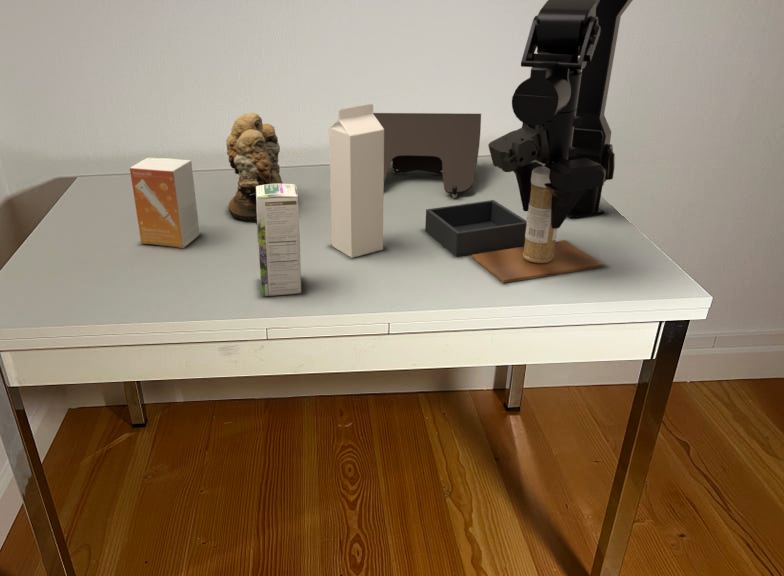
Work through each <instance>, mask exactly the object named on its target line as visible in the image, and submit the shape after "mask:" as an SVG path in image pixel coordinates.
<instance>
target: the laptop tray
mask: <svg viewBox="0 0 784 576" xmlns="http://www.w3.org/2000/svg"><path fill="white" fill-rule="evenodd" d="M373 114H374V116H375V117H376V119H377V120H378V121H379V123H380V124H381V126H382V127H383V128H384V182H385V181H386V178H387V177H388V174H389V171H390V167H391V164H392V172H393V173H394V174H397V175H400V174H405V173H410V172H426V173H431V174H434V175H438V176H439V175H440V176H442V182H443V187H444V191H445V193H447V194H451V196H452V199H456V198H457V196H458V194H460V193H464V192H467V191H469V190H470V189H471V187H472V185H473V181H474V177H475V174H476V171H477V170H476V169H477V164H478V158H479V150H480V143H481V128H482V113H444V112H443V113H440V112H439V113H437V112H436V113H434V112H433V113H430V112H418V113H417V112H373Z"/></svg>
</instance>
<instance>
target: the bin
mask: <svg viewBox="0 0 784 576" xmlns="http://www.w3.org/2000/svg"><path fill="white" fill-rule="evenodd" d="M526 224H527V219H525V218H523V217H522V216H520V215H518V214H516V213H515V212H514V211H512V210H511V209H508V207H505V206H504V205H502V204H501V203H499V202H498V201H496V200H494V199H491V200H490V199H489V200H483V201H478V202H477V201H476V202H469V203H461V204H455V205H447V206H441V207H433V208H426V209H425V228H424V231H425V232H426V234H428V235H429V236H430V237H431V238H433V240H435V241H436V242H438V244H440V245H441V246H442V247H443V248H445V249H446V250H447V251H448V252H449V253H451V254H452V255H453V256H454V257H463V256H470V255H473V254H480V253H486V252H493V251H499V250H505V249H512V248H518V247H524V245H525V233H526Z"/></svg>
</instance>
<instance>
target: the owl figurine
mask: <svg viewBox="0 0 784 576" xmlns="http://www.w3.org/2000/svg"><path fill="white" fill-rule="evenodd" d="M230 131H231V132H230V134H229V135H228V136H227V138H226V140H225V141H226V144H225V145H226V155H227V156H228V163H229V166H230V168H231V169H233V170H234V174H235V175H239V178H238V181H237V190H236V192H235V195H234V196H233V197H232V198H231V199H230V201H229V203H228V212H229V213H230V215H231V216H232V217H233V218H235V219H240V220H241V221H245V220H257V204H256V186H260V185H266V184H284V183H283V180H282V176H281V174H280V173H281V172H280V169H281V168H280V164H279V154H280V151H281V147H280V144H279V139H278V138H279V137H278V136H277V134H276V129H275V126H274V125H272V124H270V123H263V119H262V117H261V116H260V115H259V113H256V112H250V113H244V114H242V115H241V116H239V117H237V118H236V119H235V120H234V122H233V125H232V127H231V130H230ZM251 195H254V196H251Z"/></svg>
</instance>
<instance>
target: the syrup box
mask: <svg viewBox="0 0 784 576" xmlns="http://www.w3.org/2000/svg"><path fill="white" fill-rule="evenodd" d="M255 195H256V204H257V219H256V231H257V232H256V233H257V234H256V235H257V248H258V249H257V250H258V261H259V262H258V263H259V264H258V265H259V276H260V277H259V278H260V288H261V289H260V292H261V296H262V297H272V296H287V295H297V294H302V270H301V269H302V267H301V246H300V245H301V241H300V239H301V237H300V212H299V195H298V188H297V185H296V184H294V183H283V184H266V185H260V186H256V194H255Z"/></svg>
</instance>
